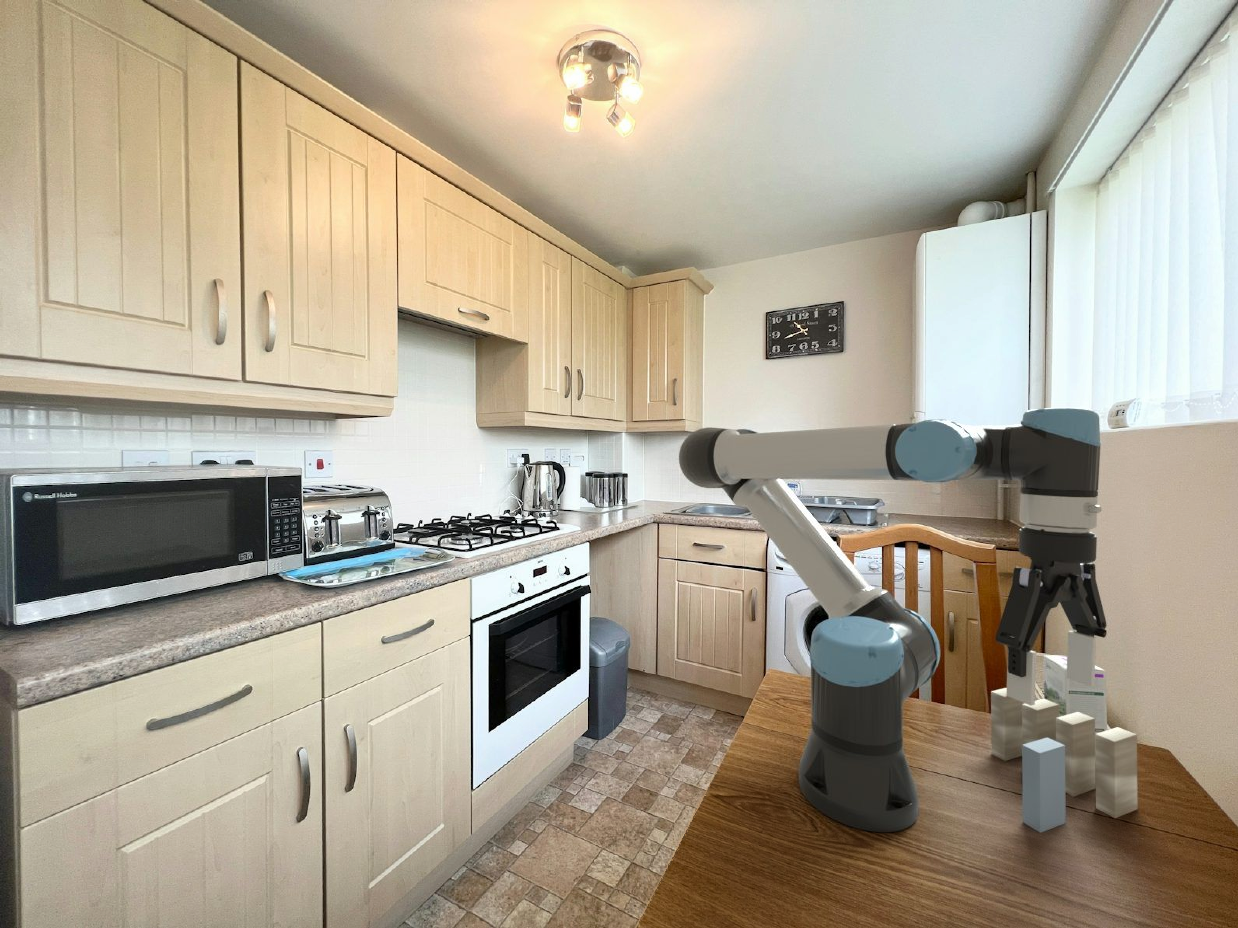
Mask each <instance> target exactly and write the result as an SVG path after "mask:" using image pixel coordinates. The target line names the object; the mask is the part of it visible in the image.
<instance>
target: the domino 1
mask: <svg viewBox="0 0 1238 928" xmlns="http://www.w3.org/2000/svg"><path fill="white" fill-rule="evenodd" d="M1006 694H1007V687H1003V688H999V689H996V690H991V691H990V719H991V720H990V722H991V723H990V726H991V728H990V729H991V731H990V733H991V737H990V738H991V745H990V746H991V748H990V750H991V755H993V756H995V757H996V758H999V759H1000V760H1002V761H1008V760H1012V759H1016V758H1018V757H1022V745H1023V734H1022V704H1025V703H1023V702H1021V701H1018V700H1016V699H1013V698H1011V697H1008V696H1006Z"/></svg>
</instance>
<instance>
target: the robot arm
mask: <svg viewBox="0 0 1238 928" xmlns="http://www.w3.org/2000/svg"><path fill="white" fill-rule="evenodd" d="M1100 427H1101V426H1100V416H1099V413H1097V412H1095V410H1093V409H1092V408H1091V409H1090V408H1087V407H1072V406H1071V407H1048V408H1047V407H1046V408H1035V409H1030V410H1027V411H1025V412H1024V413H1023V416H1022V420H1021V421H1020V424H1012V425H995V426H994V425H993V426H992V425H987V426H986V425H981V426H980V425H979V426H978V425H976V426H975V425H974V426H973V425H972V426H971V425H965V424H961V423H956V422H954V421H950V420H948V419H924V420H921V421H919V422H914V423H902V424H901V423H900V424H881V425H867V426H866V425H865V426H851V427H850V426H849V427H837V428H835V427H832V428H821V429H820V428H819V429H802V430H790V431H789V430H788V431H773V432H757V431H754V430H751V429H748V428H739V429H732V428H719V427H703V428H699V429H697V430H694V431H693V432H691V433H689V435H687V436H686V437H685V439H684V440H683V441H682V444H681V445H680V448H679V453H678V464H679V467H680V470H681V472H682V474H683V475H684V477H685V478H686V480H688V481H689V482H690V483H692V484H694V486H695V485H696V486H697V487H700V488H704V489H723V491H724V492H725V493H726V494H727V496H728V497H729V499H730V500H731V501H732V503H733V504H734V506H738V507H743V508H744V507H746V509H747V510H748V511H749V513H750V514H751V515H752V516H753V517H754V519H755V520H756V521H757V523H758V524H759V525H760V527H761V528H762V529H763V531H764V532H765V533H766V535H767V536H768V537H769V539H770V540H771V541H772V542H773V544H774V545H775V546H776V548H777V549H778V550H779V551H780V554H782V555H783V557H784V558H785V560H787V562H788V563H789V565H790V566H791V568H792V569H793V570H794V571H795V573H796V574H797V575H798V576H799V578H800V579H801V581H802V582H803V584H805V586H806V587H807V588H808V590H809V591H810V593H811V594H812V595H813V597H815V599H816V600H817V602H818V603H819V605H820V606H821V607H822V608H823V609H824V611H825V612H826V613H827V616H828V619H825V620H822V622H820V623H818V624H817V625H816V626H815V628H814V629H813V631H812V634H811V640H810V648H809V660H810V711H811V712H810V716H811V719H810V720H811V721H810V722H811V724H810V725H811V729H810V733H809V736H808V738H807V741H806V742H805V743H806V744H805V746H804V750H803V751H802V755H801V758H800V761H799V765H798V785H799V789H800V791H801V792H802V795H803V796H804V798H805V799H806V800H807V801H808V802H809V804H810V805H812V806H813V807H814V808H815V809H816V810H818V812H820V813H822V814H823V815H825V816H827V817H829V818H830V819H832V820H834V821H836V822H839V823H841V824H842V825H846V826H849V827H852V828H854V829H859V830H863V831H868V832H874V833H875V832H876V833H893V832H894V833H895V832H898V831H902V830H905V829H907V828H909V827H911V826H913V824H914V823H915V822H916V821H917V819H918V816H919V793H918V789H917V786H916V783H915V780H914V777H913V774H912V771H911V768H910V765H909V762H908V760H907V757H906V754H905V751H904V739H903V738H904V734H903V733H904V732H903V731H904V729H903V727H904V726H903V724H904V721H903V720H904V719H903V718H904V717H903V715H904V714H903V713H904V711H903V709H904V708H903V706H904V702H905V701H906V700H907V699H908V698H909V697H911V696H912V695H913V693H914V692H915V691H916V690H917V689H919V687H921V686H923V685H926V684H927V683H928V682H929V681H930V680H931V678H932V677H933V676H934V674H935V672H936V670H937V668H938V665H939V662H940V660H941V659H940V658H941V647H940V646H941V645H940V640H939V638H938V636H937V633H936V631H935V630H934V628H933V627H932V626H931V624H930V623H929V622H928V621H927V620H926V618H924V617H923V616H922V615H920V614H919V613H917V612H916V611H914V610H911V609H908V608H905V607H902V605H900V603H899V602H898V601H897V600H896V599H895V597H894V596H893V595H892V594H891V593H890V592H889V590H888V589H883V588H878V587H874V586H872V585H871V584H870V582H869V581H868V580H867V579H866V578H865V577H864V576H863V574H862V573H861V572H860V570H859V569H858V568H857V567H856V566H855V565H854V563H853V562H852V561H851V560H850V559H849V557H848V556H847V555H846V554H845V552H844V551H843V550H842V549H841V548H840V546H838V544H837V543H836V542H835V541H834V540H833V538H832V537H831V536H830V535H829V534H828V532H827V531H826V530H825V528H823V526H822V525H821V524H820V522H818V521H817V519H816V518H815V517H814V516H813V515H812V513H811V512H810V511H809V510H808V509H807V507H806V506H805V505H804V504H803V503H802V502H801V500H800V499H799V498H798V496H797V495H796V494H795V493H794V492H793V491H792V489H791V488H790V487H789V486H788V484H787V483H786V482H785V481H784V480H841V481H842V480H843V481H844V480H851V481H852V480H853V481H855V480H856V481H857V480H858V481H863V480H864V481H866V480H867V481H870V480H871V481H904V482H905V481H913V482H914V481H915V482H916V481H917V482H918V481H919V482H920V481H921V482H925V483H946V482H947V483H948V482H950V481H956V480H959V481H960V480H993V481H994V480H997V481H998V480H1000V481H1003V480H1004V481H1020V499H1019V518H1018V519H1019V522H1020V523H1022V524H1024V526H1022V527H1021V528H1019V530H1018V531H1019V532H1018V551H1019V553H1020V554H1021V555H1022V556H1024V557H1028V558H1029V559H1030V561H1031V563H1030V566H1029V568H1026V567H1020V566H1015V567H1014V568H1013V573H1012V583H1011V587H1010V590H1009V592H1008V596H1007V599H1006V604H1005V606H1004V609H1003V613H1002V614H1001V619H1000V622H999V625H998V628H997V631H996V634H995V642H996V643H999V644H1001V645H1004V646H1007V667H1006V668H1007V670H1006V688H1007V694H1006V696H1008V697H1011V698H1013V699H1016V700H1018V701H1021V702H1023V703H1026V704H1028V705H1031V706H1032V705H1035V701H1036V680H1037V678H1036V675H1037V669H1036V668H1037V651H1035V650H1032V649H1033V647H1034V645H1035V642H1036V640H1037V638H1038V636H1039V635H1040V633H1041V630H1042V627H1044V624H1045V622H1046V619H1047V617H1048V615H1049V613H1050V611H1051V610H1052V609H1055V608H1057V607H1058V605H1059V604H1060V606H1061V608H1062V610H1063V612H1064V614H1065V616H1066V618H1067V620H1068V623H1070V625H1071V628H1072V630H1068V631H1067V654H1066V656H1067V678H1068V679H1071V680H1074V681H1077V682H1079V683H1082V684H1085V685H1088V686H1091V687H1092V686H1094V684H1095V666H1096V655H1097V654H1096V651H1097V648H1096V647H1097V637H1100V638H1103V639H1105V637H1107V632H1108V631H1107V629H1106V628H1107V620H1106V616H1105V611H1104V608H1103V604H1102V600H1101V596H1100V592H1099V587H1098V583H1097V579H1096V578H1097V577H1096V575H1097V574H1096V564H1095V563H1094V562H1095V561H1096V559H1097V546H1098V545H1097V542H1098V541H1097V540H1098V536H1097V535H1096V534H1095V533H1094V532H1092V531H1091V530H1092V529H1095V528H1097V526H1098V525H1097V521H1098V514H1100V513H1101V512H1102V509H1103V508H1102V506H1100V505H1098V498H1099V497H1098V496H1099V481H1100V480H1099V478H1100V464H1101V463H1100V460H1101V444H1102V443H1101V431H1100V430H1101V429H1100Z"/></svg>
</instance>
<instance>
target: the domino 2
mask: <svg viewBox="0 0 1238 928" xmlns="http://www.w3.org/2000/svg"><path fill="white" fill-rule="evenodd" d="M1057 717H1059V704H1056V703H1054V702H1051V701H1049V700H1046V699H1044V698H1041V699H1037V700H1036V699H1035V705H1032V706H1031V705H1028V704H1026V703H1025V704H1022V734H1023V744H1027V743H1030V742H1033V741H1037V740H1040V739H1044V738H1050V739H1052V740H1054V741H1056V718H1057Z"/></svg>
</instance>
